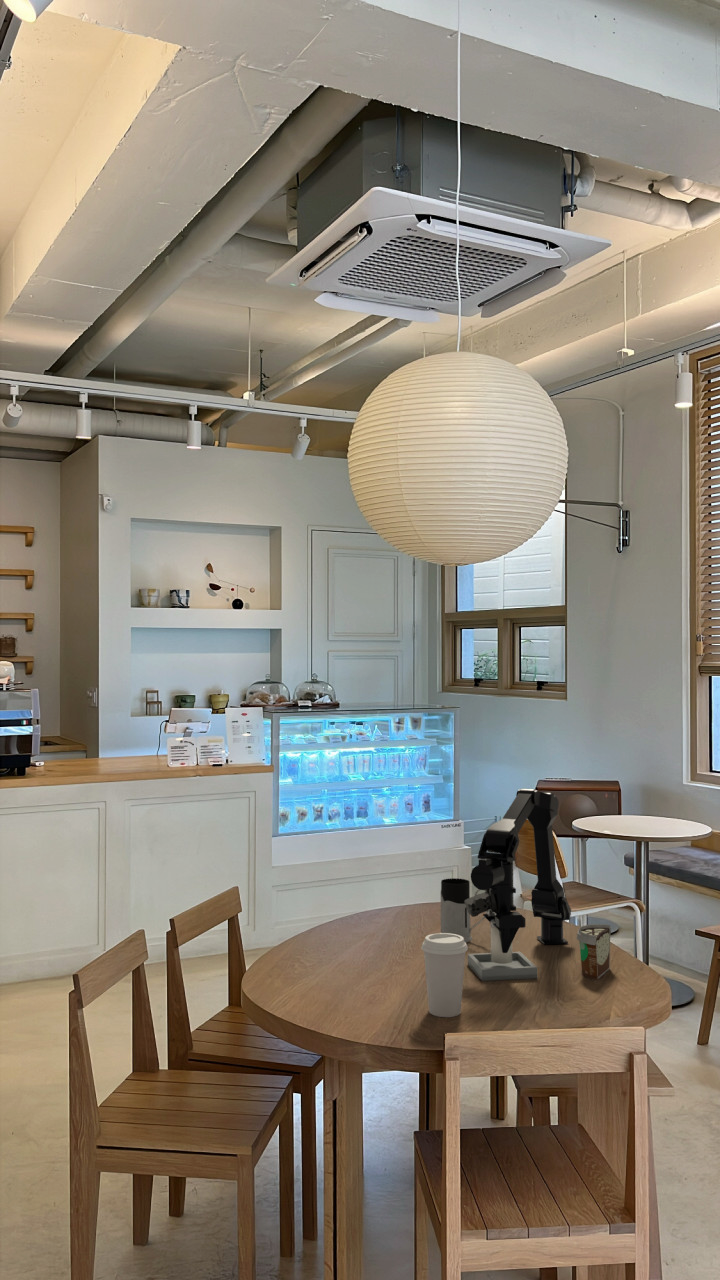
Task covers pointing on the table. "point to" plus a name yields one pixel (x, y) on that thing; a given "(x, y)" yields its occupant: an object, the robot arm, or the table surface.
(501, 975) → the tray
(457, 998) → the coffee cup
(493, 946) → the cylinder
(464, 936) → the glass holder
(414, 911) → the table surface
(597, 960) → the food container
